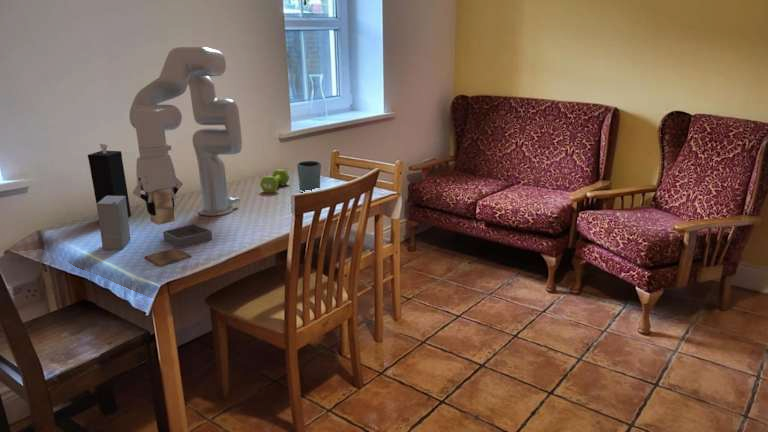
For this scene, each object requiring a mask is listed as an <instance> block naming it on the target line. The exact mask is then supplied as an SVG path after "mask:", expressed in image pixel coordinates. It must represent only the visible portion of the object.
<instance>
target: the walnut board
mask: <svg viewBox="0 0 768 432" xmlns="http://www.w3.org/2000/svg"><path fill="white" fill-rule="evenodd" d="M143 257H144V259H146V260H147V261H149V262H150V263H153V264H155V265H156V266H158V267H164V266H167V265H169V264H173V263H177V262H180V261H183V260H187V259H189V258H192V255H191V254H189V253H187V252H185V251H184V250H182V249H181V248H179V247H177V246H175V247H172V248H168V249H165V250H162V251H158V252H154V253H151V254H148V255H147V254H146V255H145V256H143Z"/></svg>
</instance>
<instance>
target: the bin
mask: <svg viewBox="0 0 768 432" xmlns="http://www.w3.org/2000/svg"><path fill="white" fill-rule="evenodd" d="M194 233H195V234H194ZM162 234H163V240H164V241H165V242H167V243H169V244H170V245H173V246H175V247H176V248H178V249H183V248H186V247H190V246H195V245H197V244H201V243H203V242H207V241H210V240H213V233H212V230H211V229H208V228H206V227H203V226H201V225H198V224H196V223H190V224H186V225H184V226H179V227H176V228H172V229H168V230H164V231H162ZM190 234H192V235H190ZM186 235H188V236H186ZM183 236H185V237H183ZM180 237H181V238H180Z"/></svg>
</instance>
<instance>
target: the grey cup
mask: <svg viewBox="0 0 768 432" xmlns="http://www.w3.org/2000/svg"><path fill="white" fill-rule="evenodd" d="M296 167H297V175H298V182H299V184H298V185H299V191H300V190H302V191H304V192H305V190H311V191H312V189H315V188H320V189H321V172H322V162H320V161H315V160H304V161H299V162H297V164H296Z"/></svg>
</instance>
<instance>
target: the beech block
mask: <svg viewBox="0 0 768 432" xmlns="http://www.w3.org/2000/svg"><path fill="white" fill-rule="evenodd" d="M152 193H153V198H152V202H154V206H155V213H156V215H154V216H153V215H151V214H149V218H150V222H151V223H153V224H156V225H158V226H160V225H165V224H168V223H173V222H175V220H176V219H175V212H174V211H175V210H174V211H173V203H172V196H171V189H170V188H168V189H164V190H159V191H154V192H152Z"/></svg>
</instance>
